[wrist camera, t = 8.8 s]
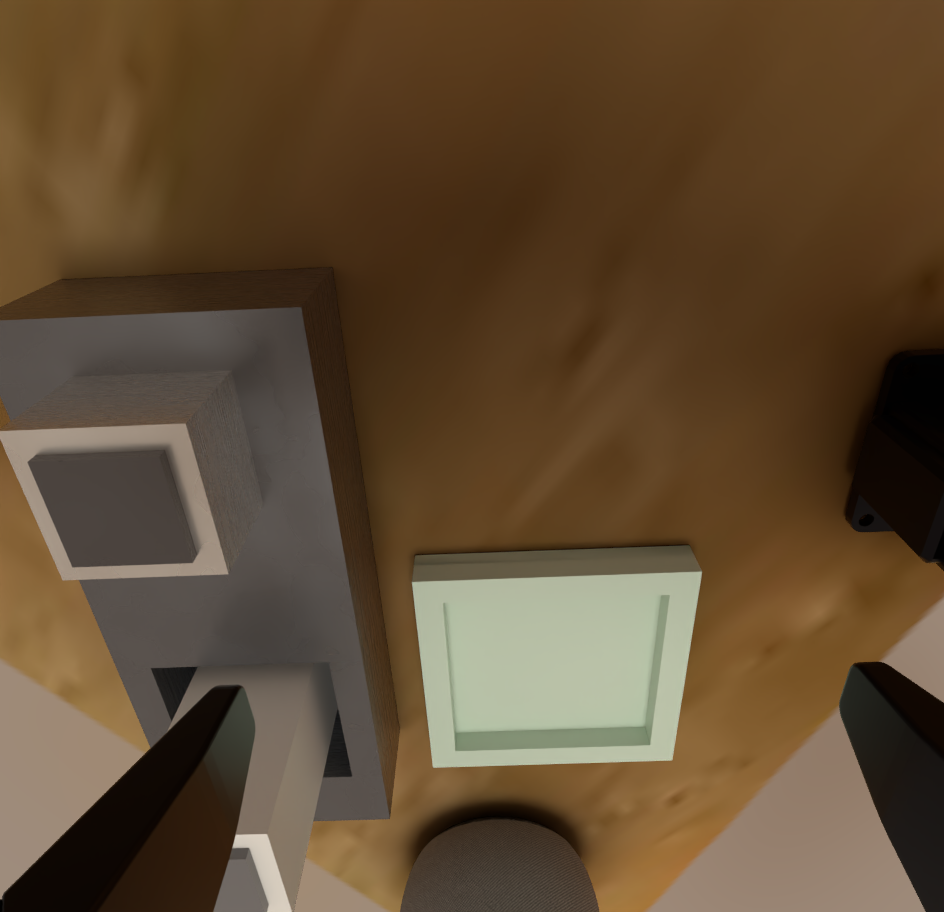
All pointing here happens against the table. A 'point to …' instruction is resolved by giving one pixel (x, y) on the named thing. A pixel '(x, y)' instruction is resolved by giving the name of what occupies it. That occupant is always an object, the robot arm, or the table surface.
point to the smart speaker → (499, 871)
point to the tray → (555, 653)
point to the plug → (274, 777)
